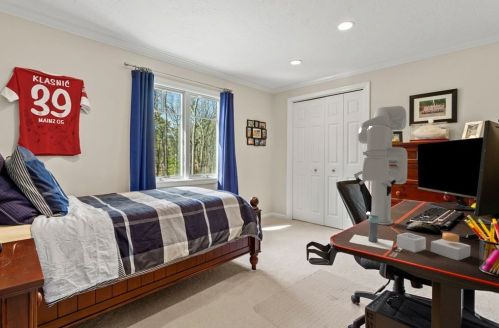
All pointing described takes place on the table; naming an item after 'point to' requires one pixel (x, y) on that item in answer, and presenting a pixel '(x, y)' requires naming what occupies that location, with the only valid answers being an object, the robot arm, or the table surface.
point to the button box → (450, 249)
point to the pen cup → (411, 242)
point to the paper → (364, 241)
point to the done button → (450, 237)
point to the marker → (373, 229)
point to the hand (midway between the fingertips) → (375, 194)
